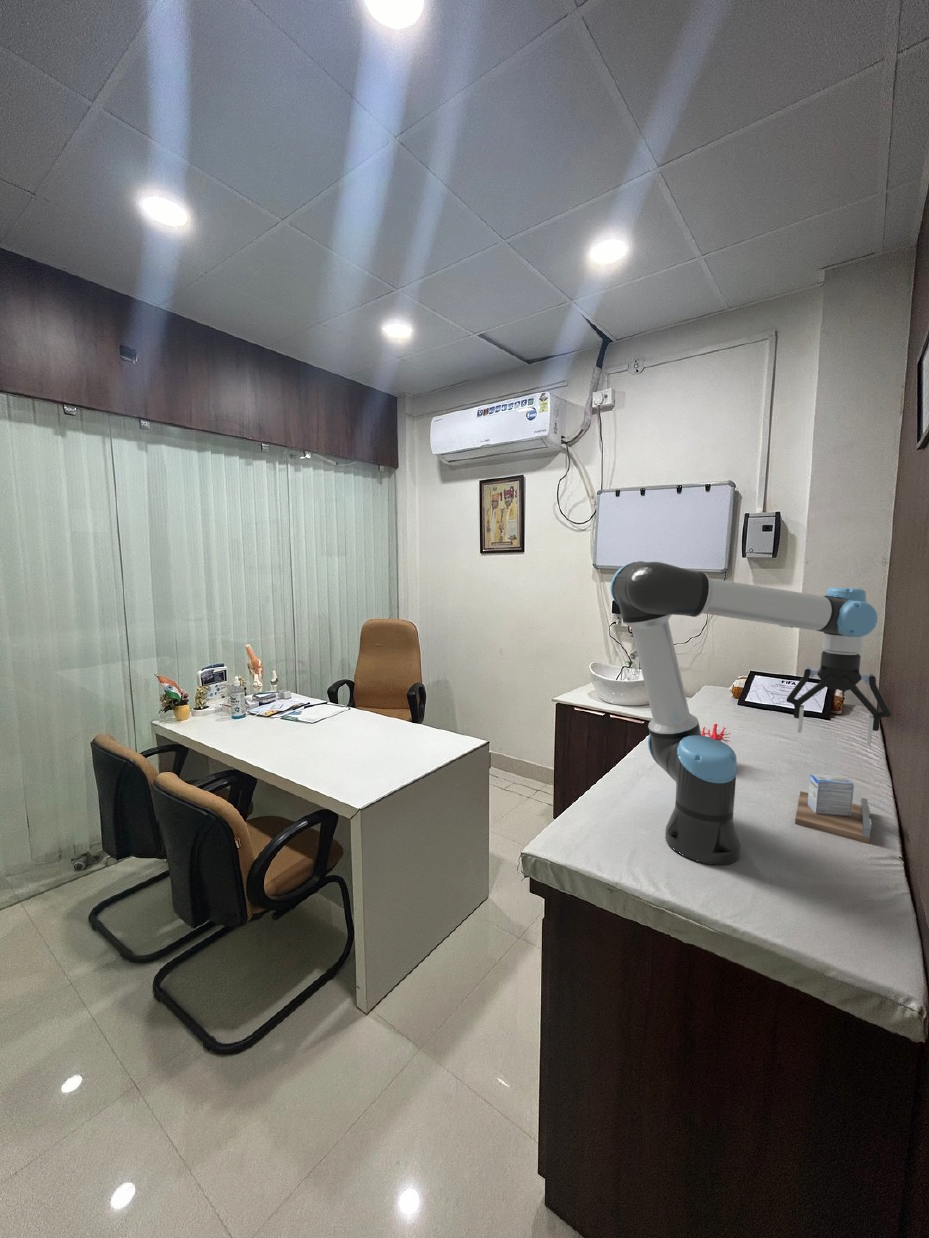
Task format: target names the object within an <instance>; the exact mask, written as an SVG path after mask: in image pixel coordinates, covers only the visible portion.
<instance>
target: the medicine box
mask: <svg viewBox="0 0 929 1238" xmlns="http://www.w3.org/2000/svg"><path fill="white" fill-rule="evenodd" d="M854 791H855V783H854V782H852V781H851V780H850V779H849V778H847V777H845V776H844V775H843V776H842V775H832V774H831V775H830V774H818V773H817V774H816V773H811V774H809V783H808V793H809V794H808V806H809V807H810V808H811V809H812V810H813V812H814V813H817V814H829V815H840V816H851V811H852V803H853V801H854V800H853V798H854Z"/></svg>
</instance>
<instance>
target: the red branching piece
mask: <svg viewBox="0 0 929 1238" xmlns="http://www.w3.org/2000/svg"><path fill="white" fill-rule="evenodd" d="M717 727H718V724H717V723H714V724H713V727H712V734H711V733H710V732H711V729H708V730H707V732H705V731H706V726H703V727H702V731H701V730H700V731H701V735H702V736H706V735H707V736H708V737H711V738H714V740H720V741H722V742H725V743H728V742H729V743H731V741H730V740H728V739H729V738H731V737H730V736H728V735H732V733H731V732H729V733H727V731H725V730H726V729H727V728H726V727H724V726H723V727H722V728H723V729H722V731H721V732H720V730H721V729H719V730H717ZM717 731H718V732H717ZM719 732H720V733H719ZM724 736H725V737H724ZM726 738H728V739H726ZM731 744H732V743H731Z"/></svg>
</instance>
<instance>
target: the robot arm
mask: <svg viewBox="0 0 929 1238" xmlns="http://www.w3.org/2000/svg"><path fill="white" fill-rule="evenodd" d="M610 594H611V596H612V599H613V600H614V602H615V604H617V605H618V607H619V611H620V615H621V618H622V622H623V623H622V624H625V625H627V626H628V627H630V629H631V632H632V637H633V641H634V644H635V649H636V653H637V654H636V655H637V658H638V662H639V667H640V669H641V674H642V679H643V683H644V687H645V692H646V695H647V699H648V705H649V709H650V712H651V716H652V719H651V720H650V721H649V722H648V725H647V727H648V731H649V735H648V737H647V746H648V747H647V748H648V750H649V753H650V754H651V758H653V759H652V760H654V762H655V763H656V764H657V765H658V766H659V767H660V768H661V769H662V770H663V771H664V772H666V774H668V776H669V777H670V778H671V779H672V780H673V781H674V782H675V785H676V787H675V804H674V808H673V811H672V812H671V815H670V817H669V819H668V821H667V824H666V826H665V835H664V836H665V837H664V838H665V839H666V840H665V842H666V841H667V842H666V844H667V843H668V844H669V845H668V844H667V845H668V847H670V846H671V847H672V848H674V849H675V850H676V851H677V852H680V853H681V854H683V855H684V856H686V857H688V858H690V859H689V860H691V859H694V860H698V861H700V862H699V863H701V862H703V863H702V864H705V863H708V864H707V865H712V864H714V865H713V866H717V865H718V866H723V865H729V864H733V863H734V862H737V861H738V860H739V859H740V857H741V842H740V838H739V834H738V831H737V828H736V824H735V820H734V808H735V797H736V796H735V795H736V783H737V782H736V781H737V774H738V763H737V762H738V761H737V755H736V753H735V751H734V750H733V748H732V747H731V746H729V745H728V743H726V742H725V741H723V740H721V741H720V740H714V738H711V737H710V736H708V735H705V736H702V735H701V734H702V732H701V728H700V723H699V719H698V718H697V717H696V716H695V715H693V714H691V713H690V709H689V705H688V701H687V695H686V692H685V687H684V684H683V680H682V674H681V671H680V667H679V661H678V657H677V652H676V649H675V648H676V647H675V644H674V640H673V637H672V631H671V627H670V623H669V620H670V618H671V617H672V616H674V615H675V616H685V617H686V616H687V617H693V618H697V617H699V616H701V615H702V614H706V615H709V616H710V615H711V616H716V617H717V616H718V617H725V618H731V619H738V620H743V621H750V622H757V623H762V624H768V625H769V624H770V625H775V626H776V625H778V626H779V627H783V628H790V629H791V628H796V629H802V630H808V631H815V632H821V633H823V635H822V643H821V644H822V647H821V648H822V649H823V651H821V654H820V655H821V658H820V668H819V669H815V668H811V667H809V666H807V667H805V669H804V673H803V675H802V677H801V678H800V680H799V681H798V683H796V686H794V688H793V689H792V690H791V691H790V693H789V695H788V696H787V697H786V700H785V701H786V702H787V703H788V704H791V705H793V706H794V707H793V708H794V709H793V719H798V725H797V733H800V734H801V733H802V731H803V723H804V722H803V721H804V712H805V705H803V704H804V703H806V702H807V701H808V700H809V699H811V698H812V697H813V696H815V695H817V693H819V692H820V691H822V690H823V689H825V688H827V689H829V690H831V691H832V690H835V691H836V690H838V691H841V692H846V691H851V692H852V694H853V695H854V696H855V697H856V698H857V699H858V700H859V702H861V703H862V705H863V706H864V707H865V708H866V710H867V711H869V713H870V714H869V715H868V724H867V733H866V745H868V746H869V745H870V746H872V739H873V731H874V732H879V730H880V724H881V719H882V718H886V717H887V718H889V717H891V716H892V713H891V711H890V709H889V707H888V705H887V702H886V701H885V699H884V697H883V695H882V694H881V692H880V689H879V688H878V686H877V677H876V675H875V674H873V673H869V674H860V668H861V667H860V666H861V657H862V655H861V654H860V653H861V652H862V648H863V647H862V646H863V645H862V644H863V637H865V636H867V635H869V634H870V633H872V632H873V631H874V630H875V628H876V626H877V623H878V612H877V610H876V608H875V607H874V606H873V605H872V604H871V603H868V602H867V593H866V590H864V589H863V588H859V587H828V589H827V591H826V594H825V595H818V594H813V593H806V592H798V591H792V590H786V589H780V588H773V587H766V586H761V585H754V584H748V583H747V584H746V583H741V582H735V581H728V580H724V579H723V580H721V579H717V578H710V577H709V575H708V574H707V573H705V572H702V571H696V570H691V569H687V568H682V567H680V566H676V565H672V564H669V563H665V562H660V561H633V562H631V563H627V564H625V565H622V566H621V567H620V568H619V569H618V570H617V571H616V572H615V573H614V575H613V576H612V579H611V581H610ZM814 676H818V678H819V679H820V681H819V682H818V683H817V684H815V685H814V686H813V687H812V688H810V689H809V690H808V691H806V692H805V693H804V694H802V695H801V696H800V697H798V698H797V695H798V694H799V693H800V691H802V689H803V688H804V687H805V685H806V684H807V682H808V681H809V679H811V678H814ZM860 681H864V684H866V685H869V687H870V690H871V692H872V694H873V695H874V698H875V700H876V702H877V704H878V706H879V708H880V710H878V709H877V708H876V706H875V705H874V704H873V703H872V702H871V701H870V700H869V699H868V698H867V696H865V694H864V693H863V692H862V690H861V689H860V688H859V687H858V686H857V684H858V683H860ZM796 698H797V699H796ZM871 714H872V715H871ZM671 847H670V848H671ZM672 848H671V849H672ZM677 852H676V853H677ZM684 856H683V857H684ZM686 857H685V858H686ZM688 858H687V859H688ZM694 860H693V861H694Z"/></svg>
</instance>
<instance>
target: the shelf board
mask: <svg viewBox="0 0 929 1238" xmlns="http://www.w3.org/2000/svg"><path fill="white" fill-rule="evenodd" d="M808 794H809V792H805V791H799V798H798V802H797V808H796V813H795V819H794V825H798V826H802V827H805V828H810V829H812V830H813V829H814V830H816V831H819V832H820V831H821V832H824V833H827V834H832V835H834V836H835V835H836V836H839V837H842V838H846V839H851V840H855V841H857V840H858V842H861V843H865V844H870V838H871V829H872V819H871V818H870V814H871V813H870V812H871V810H870V809H871V808H870V805H869V802H868V799H867V798H864V797H861V798H860V804H856V803H854V802H852V811H851V816H840V815H829V814H817V813H814V812H813V810H812V809H811V808H810V807H809V806H808Z"/></svg>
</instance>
